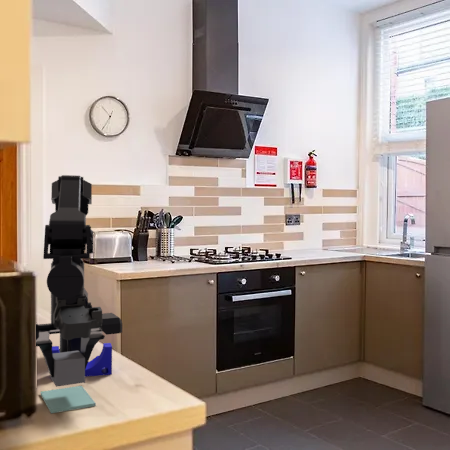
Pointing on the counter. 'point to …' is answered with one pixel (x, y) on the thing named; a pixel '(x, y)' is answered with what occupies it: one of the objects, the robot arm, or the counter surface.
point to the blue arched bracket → (97, 361)
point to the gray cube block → (68, 368)
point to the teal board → (67, 399)
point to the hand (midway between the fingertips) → (67, 374)
